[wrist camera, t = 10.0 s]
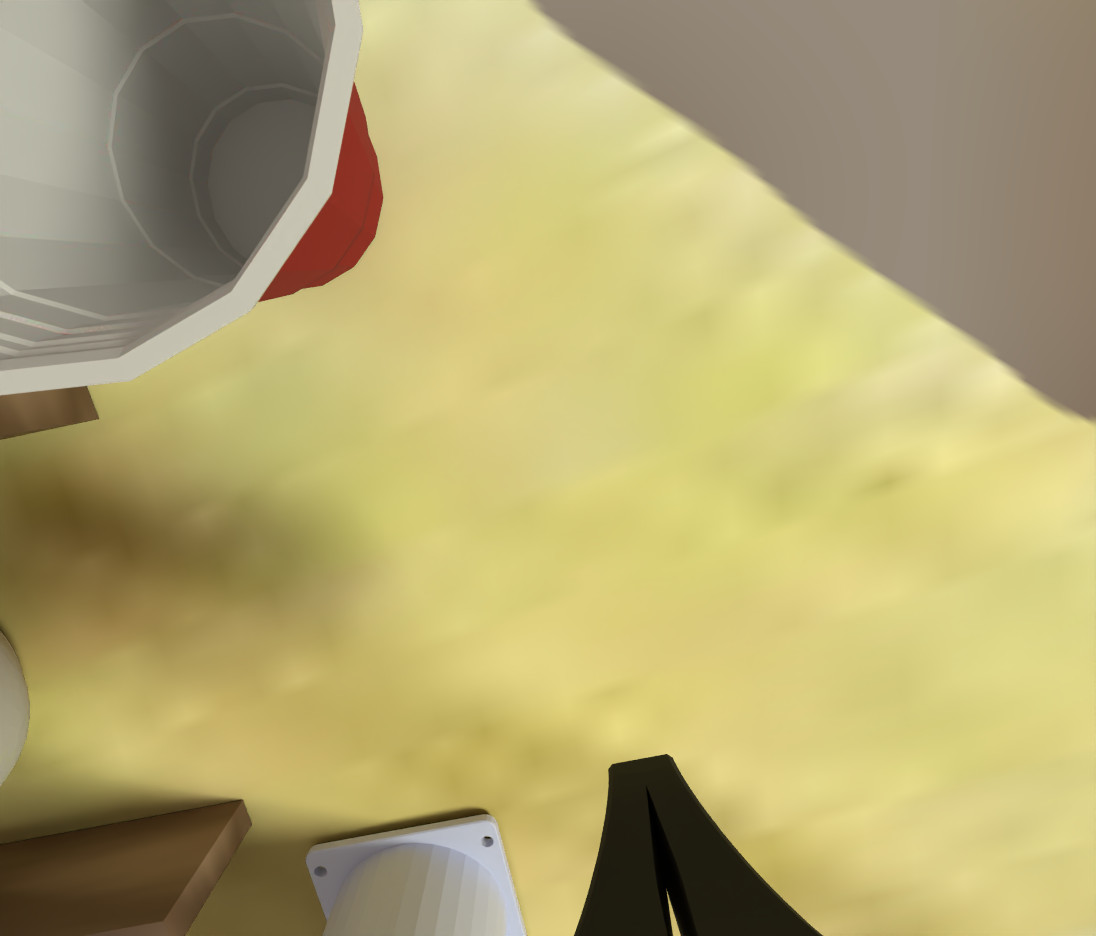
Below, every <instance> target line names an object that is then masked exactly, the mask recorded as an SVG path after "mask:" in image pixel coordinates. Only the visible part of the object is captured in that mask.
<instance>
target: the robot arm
mask: <svg viewBox="0 0 1096 936" xmlns="http://www.w3.org/2000/svg"><path fill="white" fill-rule="evenodd" d="M608 772H609V788H608V800H607V808H606V815H605V821H604V827H603V832H602V837H601V843H600V848H599V852H598V857H597V860H596V864H595V868H594V872H593V876H592V880H591V884H590V888H589V891H588V895H587V898H586V901H585V905H584V908H583V911H582V914H581V917H580V920H579V923H578V926H577V929H576V932H575V934H574V936H673V933H672V926H671V919H670V911H669V904H668V897H667V892H668V895H669V898H670V902H671V905H672V908H673V911H674V915H675V918H676V921H677V924H678V928H679V931H680V934H681V936H823V935H821V934H820V933H819V932H818V931H817V930H815V929H814V928H813V927H812V926H811V925H810V924H809V923H807V922H806V921H805V920H804V919H803V918H802V917H801V916H800V915H799V914H798V913H797V912H796V911H795V910H794V909H793V908H792V907H791V906H789V905H788V904H787V903H786V902H785V901H784V900H783V899H782V898H781V897H780V896H779V895H778V894H777V893H776V892H775V891H774V890H773V889H772V888H771V887H770V886H769V885H768V884H767V883H766V882H765V880H764V879H763V878H762V877H761V876H760V875H759V874H758V873H757V872H756V871H755V870H754V869H753V868H752V866H751V865H750V864H749V863H748V862H747V861H746V860H745V859H744V857H743V856H742V855H741V854H740V853H739V852H738V850H737V849H736V848H735V847H734V846H733V845H732V843H731V842H730V841H729V840H728V839H727V837H726V836H725V835H724V834H723V832H722V831H721V830H720V829H719V827H718V826H717V825H716V823H715V822H714V821H713V820H712V818H711V817H710V816H709V814H708V813H707V812H706V810H705V809H704V808H703V806H702V805H701V804H700V802H699V801H698V799H697V798H696V796H695V795H694V793H693V792H692V790H691V789H690V787H689V786H688V784H687V783H686V781H685V780H684V778H683V776H682V775H681V773H680V771H679V769H678V768H677V766H676V764H675V762H674V760H673V758H672V757H671V756H669V755H668V754H665V755H659V756H654V757H649V758H643V759H638V760H632V761H627V762H621V763H616V764H612V765H611V767H610V768H609V769H608ZM485 836H489V837H491V838H490V839H486V838H484V837H485ZM305 860H306V865H307V867H308V870H309V873H310V876H311V879H312V881H313V884H314V887H315V890H316V893H317V895H318V898H319V901H320V904H321V906H322V909H323V912H324V915H325V918H326V920H327V924H326V926H325V929H324V932H323V935H322V936H527V933H526V929H525V925H524V922H523V918H522V914H521V910H520V907H519V903H518V899H517V895H516V892H515V888H514V884H513V880H512V877H511V873H510V869H509V865H508V861H507V858H506V854H505V850H504V846H503V843H502V839H501V835H500V831H499V828H498V824H497V821H496V819H495V818H494V817H492V816H491V815H488V814H482V815H477V816H471V817H466V818H460V819H454V820H449V821H443V822H438V823H432V824H427V825H421V826H416V827H410V828H405V829H399V830H394V831H388V832H383V833H377V834H372V835H366V836H361V837H355V838H350V839H344V840H339V841H333V842H328V843H322V844H317V845H314V846H312V847H311V848H310V849H309V852H308V854H307V856H306V859H305ZM320 866H322V867H324V868H322V867H320ZM666 889H667V890H666Z"/></svg>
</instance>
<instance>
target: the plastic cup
mask: <svg viewBox="0 0 1096 936" xmlns="http://www.w3.org/2000/svg"><path fill="white" fill-rule="evenodd" d="M362 33H363V25H362V19H361V13H360V7H359V0H0V395H8V394H17V393H26V392H35V391H44V390H53V389H62V388H71V387H80V386H89V385H98V384H107V383H117V382H126V381H131V380H133V379H135V378H136V377H138V376H140V375H142V374H143V373H145V372H147V371H148V370H150V369H152V368H154V367H155V366H157V365H159V364H160V363H162V362H164V361H166V360H167V359H169V358H171V357H173V356H174V355H176V354H178V353H179V352H181V351H183V350H185V349H186V348H188V347H190V346H191V345H193V344H195V343H197V342H198V341H200V340H202V339H203V338H205V337H207V336H209V335H210V334H212V333H214V332H216V331H217V330H219V329H221V328H222V327H224V326H226V325H228V324H229V323H231V322H233V321H234V320H236V319H238V318H240V317H241V316H243V315H245V314H246V313H248V312H250V311H251V310H252V309H253V308H254V307H255V305H256V304H257V303H258V302H260V301H265V300H269V299H273V298H278V297H282V296H286V295H291V294H294V293H295V292H297V291H299V290H300V289H303V288H310V287H316V286H323V285H324V284H326V283H328V282H329V281H331V280H333V279H334V278H336V277H338V276H339V275H341V274H343V273H344V272H346V271H348V270H349V269H351V268H353V267H354V266H355V265H356V263H357V262H358V261H359V259H360V258H361V256H362V255H363V253H364V252H365V251H366V249H367V248H368V246H369V245H370V243H371V242H372V241H373V239H374V238H375V235H376V230H377V225H378V221H379V216H380V211H381V207H382V201H383V193H382V186H381V180H380V174H379V167H378V161H377V156H376V153H375V151H374V148H373V145H372V143H371V140H370V138H369V135H368V129H367V122H366V117H365V114H364V111H363V108H362V105H361V101H360V98H359V95H358V92H357V89H356V86H355V83H354V77H355V72H356V66H357V61H358V56H359V51H360V46H361V40H362Z"/></svg>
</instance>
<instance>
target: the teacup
mask: <svg viewBox="0 0 1096 936" xmlns="http://www.w3.org/2000/svg"><path fill="white" fill-rule="evenodd" d="M29 719H30V701H29V695H28V689H27V685H26V682H25V679H24V676H23V673H22V669H21V666H20V663H19V660H18V657H17V656H16V654H15V652H14V650H13V648H12V646H11V645H10V643H9V642H8V640H7V639H6V637H5V636H4V635H3V634H2V632H1V631H0V786H1V785H2V784H3V782H4V781H5V780H6V778H7V777H8V775H9V774H10V772H11V770H12V769H13V767H14V766H15V764H16V762H17V760H18V758H19V756H20V753H21V751H22V749H23V746H24V743H25V740H26V737H27V732H28V726H29Z"/></svg>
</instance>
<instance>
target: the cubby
mask: <svg viewBox="0 0 1096 936" xmlns="http://www.w3.org/2000/svg"><path fill="white" fill-rule="evenodd" d="M96 419H99V418H98V415H97V412H96V410H95V407H94V404H93V402H92V399H91V396H90V394H89V391H88V388H87V386H80V387H71V388H62V389H53V390H44V391H35V392H26V393H17V394H8V395H0V440H1V439H6V438H11V437H15V436H20V435H25V434H30V433H35V432H39V431H44V430H49V429H54V428H58V427H63V426H68V425H73V424H77V423H82V422H87V421H92V420H96ZM251 825H252V823H251V820H250V818H249V815H248V813H247V810H246V807H245V805H244V802H243V800H240V801H235V802H230V803H224V804H219V805H213V806H208V807H203V808H197V809H192V810H186V811H181V812H176V813H170V814H165V815H159V816H154V817H149V818H143V819H138V820H132V821H127V822H122V823H116V824H111V825H105V826H100V827H95V828H89V829H84V830H78V831H73V832H68V833H62V834H57V835H51V836H46V837H41V838H35V839H30V840H24V841H19V842H14V843H8V844H3V845H0V936H185V934H186V933H187V931H188V929H189V928H190V926H191V924H192V923H193V921H194V919H195V918H196V916H197V914H198V913H199V911H200V909H201V908H202V906H203V905H204V903H205V901H206V900H207V898H208V896H209V895H210V893H211V891H212V890H213V888H214V886H215V885H216V883H217V881H218V880H219V878H220V876H221V875H222V873H223V871H224V870H225V868H226V866H227V865H228V863H229V861H230V860H231V858H232V856H233V855H234V853H235V851H236V850H237V848H238V846H239V845H240V843H241V841H242V840H243V838H244V837H245V835H246V833H247V832H248V830H249V828H250V827H251Z"/></svg>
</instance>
